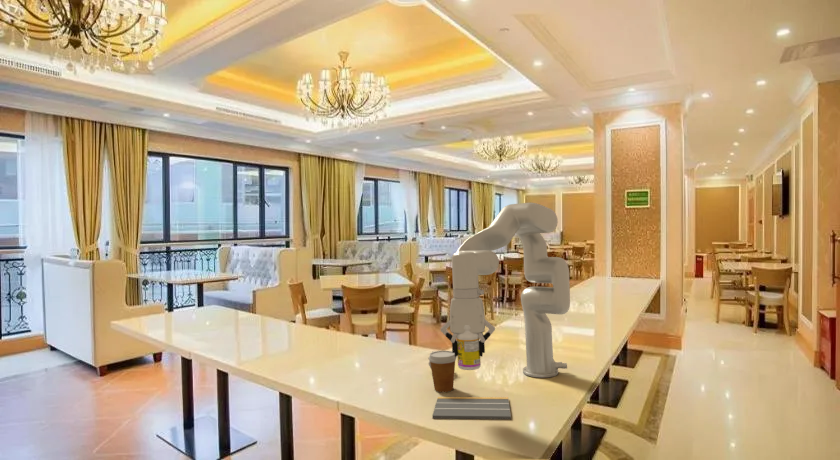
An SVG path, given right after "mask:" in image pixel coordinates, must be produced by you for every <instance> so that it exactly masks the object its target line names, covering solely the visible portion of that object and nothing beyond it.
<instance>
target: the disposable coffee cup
mask: <svg viewBox="0 0 840 460" xmlns="http://www.w3.org/2000/svg"><path fill="white" fill-rule="evenodd" d="M434 351H435V350H434ZM427 358H428V360H429V361H430V364H431V368H430V370H431V375H432V380H433V381H432V382H433V388H434V391H435V390H436V391H435V392H437V391H438V393H449V392H452V391H453V390H454V383H455V382H454V381H455V371H456V370H455V369H456V360H457V357H455V353H452V350H436V351H435V352H430V353H429V357H427ZM429 361H428V362H429ZM451 390H452V391H451ZM448 391H449V392H448Z"/></svg>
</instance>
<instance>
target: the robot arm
mask: <svg viewBox="0 0 840 460" xmlns="http://www.w3.org/2000/svg"><path fill="white" fill-rule="evenodd" d="M558 223H559V221H558V215H557V213H556V212H555V211H554V210H553V209H552V208H550V207H547V206H545V205H542V204H539V203H535V202H521V203H512V204H507V205H505V206H504V207H502V209H500V211H499V213H498V214H497V215H496V217H495V218H494V219H493V221H492V222H491V223H490V224H489V225H488V226H487V227H486V228H484V229H483V230H481V231H479V232H477V233H476V234H473V235H472V236H470V237H469V238H467V239H466V240H465V241H464V242H463V243H462V244H461V245H460V246H459V247H458V249H457V251H456V252H454V253H452V256H451V270H452V275H451V276H452V294H453V296H452V297H453V298H451V299H450V306H449V320H448V321H447V322H446V323H445V324H444V325H443V326H441V327H440V332H441V333H442V334H443V335H444V336H445V337H446V338H447V339H448V340H449V341H450V343H451V349H452V350H451V351H452V353H455V357H456V358H458V357H457V335H458V334H461V333H464V332H465V331H466V330H465V329H464V326H465V325H470V328H471V329H470V330H469V331H470V332H471V333H475V334H478V336H479V341H480V342H479V345H480V358H482V357H483V354H485V353H486V349H485V347H486V346H485V342H486V341H487V340H488V339H489V338H491V337H490V336H491V335H492V334H493V333H494V332H495V331H496V328H495V326H494V325H492V324H491V323H490V322H489V321H488V320H487V319H486V318H485V308H484V302H483V298H482V297H480V296H482V295H485V292H484V291H485V290H484V289H481V288H479V287H480V286H479V276H488V275H492V274H493V273H495V272H497V270H498V268H499V265H500V260H499V257H498V255H497V254H496V253H495V252H494V251H496V250H499V249H502V248H504V247H506V246H508V245H509V244H510V243H511V241H512V239H513V238H514V236H515V235H517V237H518V238H519V240H520V241H521V245H522V250H523V271H524V278H525V279H526V281H528V282H530V283H535V284H552V286H551V287H550V286H529V287H526V288H524V289H523V290H522V291H521V294H520V303H521V308H522V312H523V317H524V318H523V319H524V332H525V333H524V334H525V352H526V366H525V367H523V368H522V374H523V375H526V376H528V377H532V378H540V379H541V378H553V377H556V376H557V375H559V369H562V370H563V369H565V370H566V369H568V363H567V362H562V361H555V360H554V349H553V347H554V346H553V331H552V330H553V327H552V322H551V321H550V318H549V317H548V316H547V314H548V315H549V314H550V315H565V314H567V313H568V312H569V310H570V305H571V286H570V285H571V283H570V270H569V265H568V263H567V261H566V259H564V258H562V257H558V256H554V257H553V256H548V249H547V247H548V246H547V242H546V239H545V238H544V236H543V235H542V234H549V233H553V232H554V231H555V230H556V229H557V227H558ZM486 328H488V330H487V331H486V332H485V329H486ZM447 329H449V330H450V332H449V330H447ZM484 332H485V333H484ZM451 333H452V334H451Z"/></svg>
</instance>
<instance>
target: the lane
mask: <svg viewBox="0 0 840 460" xmlns="http://www.w3.org/2000/svg"><path fill="white" fill-rule="evenodd" d="M509 401H510V400H509V397H507V396H501V397H499V396H437V399H436V403H435V406H434V409H433V413H432V419H452V420H453V419H454V420H455V419H458V420H461V419H464V420H512V416H511V407H510V402H509Z"/></svg>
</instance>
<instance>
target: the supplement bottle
mask: <svg viewBox="0 0 840 460" xmlns="http://www.w3.org/2000/svg"><path fill="white" fill-rule="evenodd" d="M464 329H465V330H466V331H465V332H464V333H461V334H458V335H457V338H456V341H457V357H456V358H457V367H458V368H459V369H460V370H464V371H474V370H475V371H476V370H477V369H480V367H481V363H482V362H481V356H480V345H479V342H480V338H479V336H478V334H475V333H471V332H470V331H469V330H470V329H471V328H470V325H465V326H464Z"/></svg>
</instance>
